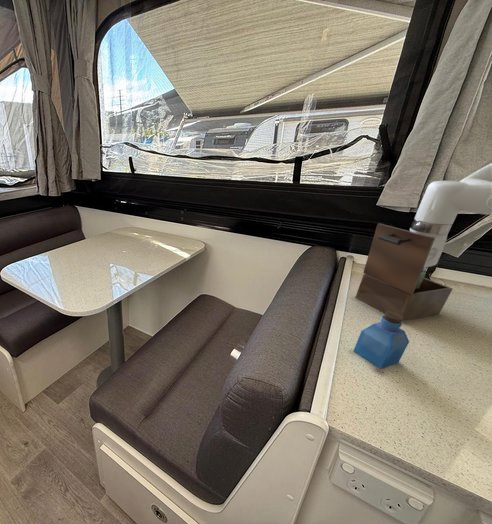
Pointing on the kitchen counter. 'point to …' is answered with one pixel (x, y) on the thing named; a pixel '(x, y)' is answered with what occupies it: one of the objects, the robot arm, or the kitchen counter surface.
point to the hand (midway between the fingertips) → (404, 284)
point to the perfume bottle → (383, 341)
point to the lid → (398, 257)
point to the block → (420, 280)
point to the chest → (404, 298)
